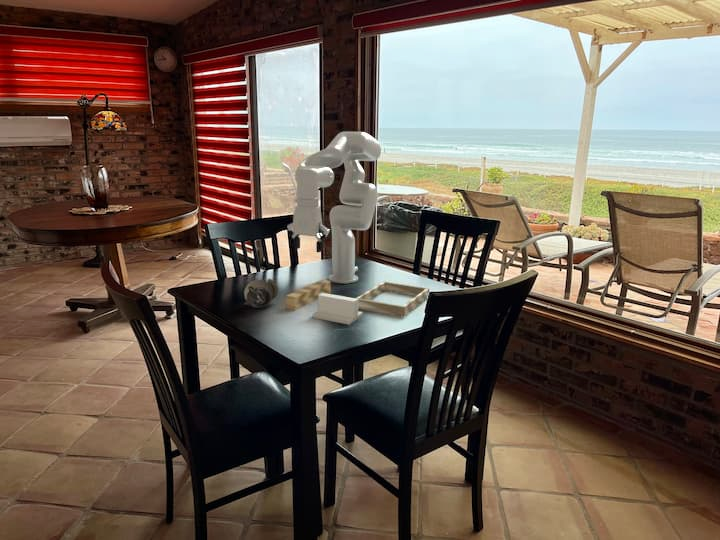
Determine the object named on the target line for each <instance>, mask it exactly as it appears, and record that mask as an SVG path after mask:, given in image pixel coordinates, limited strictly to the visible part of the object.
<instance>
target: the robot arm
mask: <svg viewBox="0 0 720 540" xmlns="http://www.w3.org/2000/svg"><path fill="white" fill-rule="evenodd" d="M381 154H382V146H381V144H380V142H379V141H378V140H377V139H376V138H375V137H373V136H372V135H370V134H369V133H367V132H365V131H341V132H339V133H338V134H337V135H336V136H335V137H334V138H333V139H332V141H330V143H329V144H328V145H327V146H326V148H324V149H322V150H319V151H317V152H315V153H313V154H310V155H308V156H306V157H305V158H304V159H303V160H302V161H301V162H300V163H299V164H298V166H297V168H296V171H295V173H294V178H295V179H294V180H295V182H296V198H295V199H294V202H295V204H296V205H297V206H294V207H295V208H294V211H293V217H292V218H293V219H292V221H293V222H291V223H289V224H287V225H286V226H287V230H288V231H289V235H291V238H292V239H293V243H292V244H293V250H298V249H300V248H301V237H300V235H301V236H307V237H314V238H316V240H317V241H316V244H315V245H316V251H315V252H316V253H322V252H323V250H324V241H325V239H326V238H327V237H328V235H329V234H330V232H331V256H332V257H331V266H332V267H331V274H330V275H329V276H328V281H331V283H335V284H352V283H356V282H358V281H359V276H358V275H356V274H355V273H356V272H357V271H358V270H359V267H358V266H356V265H355V264H356V263H355V262H356V238H355V236H354V233H353V232H352V230H356V231H366V230H368V229H370V227H371V225H372V222H373V218H374V213H375V209H376V206H377V202H378V189H377V187H376V185H375V184H373V183H369V182H365V178H366V173H365V171H364V169H363V166H362V165H361V164H360V162H359V161H362V162H364V161H365V162H375V161H377V160H379V159H380V157H381ZM343 164H344V170H345V171H344V175H343V180H342V183H341V187H340V191H339V201H340V203H342V204H343V205H341V204H339V205H335V206H333V207H332V208H331V210H330V212H329V222H330V228H331V229H329V228H327V226H325V225H323V219H322V211H321V208H320V207H319V188H328V187H330V186H331V185H332V184H334V181H335V172H334V171H333V170H332V169H335V168H338V167H341V166H342V165H343ZM344 204H345V205H344ZM330 230H331V231H330ZM322 233H323V234H322Z"/></svg>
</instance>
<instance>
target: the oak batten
mask: <svg viewBox="0 0 720 540" xmlns="http://www.w3.org/2000/svg"><path fill="white" fill-rule="evenodd" d="M331 283H332V282H331V281H329V280H327V279H326V280H325V279H320V280H319V281H316V282H314V283H311V284H309V285H306V286H305V287H303V288H300V289H298V290H296V291H294V292H291V293H289V294H287V295H284V297H285V309H287V310H291V311H297V310H299V309H300V308H303V307H305V306H307V305H309V304H311V303H313V302H315V301H318V295H319V294H321V293H327V294H331V293H332V292H331V291H332V290H331V289H332V285H331Z"/></svg>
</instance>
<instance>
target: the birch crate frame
mask: <svg viewBox="0 0 720 540" xmlns="http://www.w3.org/2000/svg"><path fill="white" fill-rule="evenodd" d="M389 291H392V292H391V293H395V292H398V293H397V294H401V293H403V294H404V295H408V294H410V295H409V296H414V295H416V296H414V297H413V298H411V299H410V300H409V301H407V302H406V303H405V304H404V305H398V304H393V303H388V302H381V301H375V300H373V299H374V298H376V297H378V296H379V295H381V294H382V292H383V293H384V292H389ZM428 293H429V294H430V288H429V287H423V286H417V285H410V284H402V283H396V282H389V281H385V280H384V281H382V282H381V283H379V284H377V285H376V286H374V287H372V288H371V289H369V290H368V291H365V292H364V293H362V294H361V295H359V296H357V297H355V298H356V299H358V310H362V311H370V312H375V313H380V314H385V315H391V316H396V317H401V316H403V318H405V317H406V316H407V315H408V314H410V313H411V312H412V311H413V310H414V309H416V308H417V307H419V306H420V305H421V304H422V303H424V300H425V299H426V300H427V299H428V298H427V296H428ZM403 294H402V295H403ZM426 300H425V301H426ZM419 304H420V305H419ZM409 312H410V313H409ZM404 316H405V317H404Z"/></svg>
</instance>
